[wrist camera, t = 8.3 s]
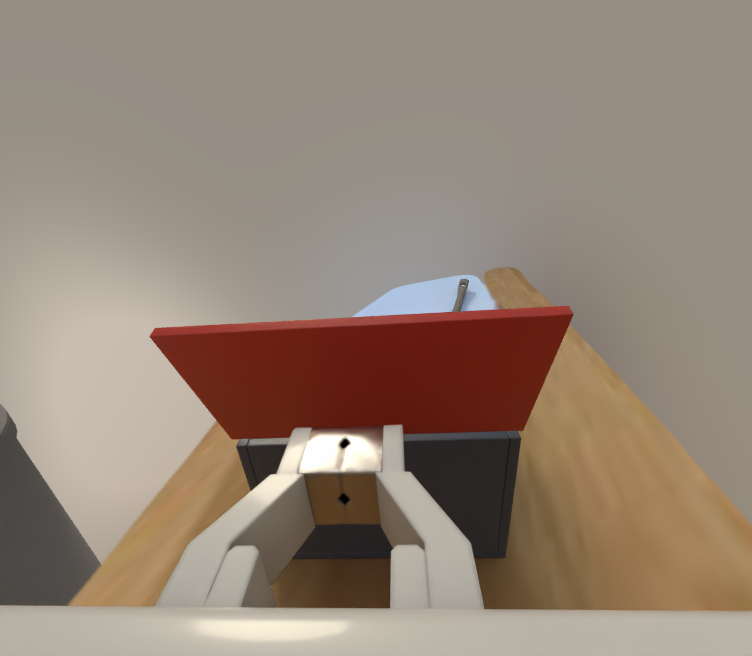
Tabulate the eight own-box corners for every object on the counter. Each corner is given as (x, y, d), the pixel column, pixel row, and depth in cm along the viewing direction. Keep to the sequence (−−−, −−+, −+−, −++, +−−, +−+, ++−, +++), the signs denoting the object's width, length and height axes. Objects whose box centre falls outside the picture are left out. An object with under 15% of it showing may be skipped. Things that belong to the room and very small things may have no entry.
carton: (505, 557, 19) (521, 438, 15) (272, 559, 20) (235, 446, 16) (460, 399, 32) (462, 313, 28) (319, 404, 32) (303, 322, 29)
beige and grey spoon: (466, 360, 31) (466, 401, 33) (484, 255, 54) (483, 283, 56) (400, 354, 33) (404, 393, 35) (444, 255, 56) (445, 283, 58)
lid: (520, 422, 15) (523, 431, 15) (234, 431, 16) (231, 439, 16) (569, 304, 10) (574, 314, 10) (154, 327, 11) (148, 336, 11)
